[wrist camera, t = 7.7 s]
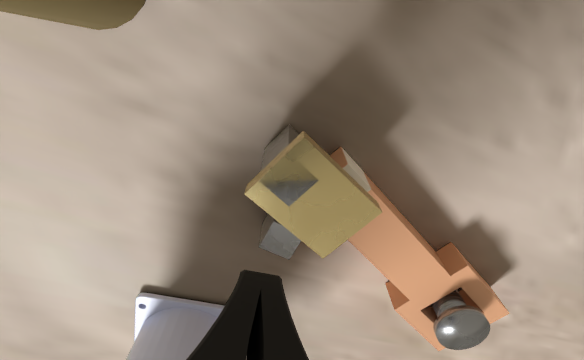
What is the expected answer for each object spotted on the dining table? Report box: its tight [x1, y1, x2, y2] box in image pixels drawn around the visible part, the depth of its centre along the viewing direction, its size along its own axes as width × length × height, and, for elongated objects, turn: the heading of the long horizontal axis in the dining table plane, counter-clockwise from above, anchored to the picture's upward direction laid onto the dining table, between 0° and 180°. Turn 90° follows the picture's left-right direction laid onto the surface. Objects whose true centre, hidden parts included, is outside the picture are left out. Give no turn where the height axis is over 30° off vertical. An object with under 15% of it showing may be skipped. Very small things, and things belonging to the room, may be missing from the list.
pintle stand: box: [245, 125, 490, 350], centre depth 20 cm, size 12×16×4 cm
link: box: [330, 147, 509, 351], centre depth 22 cm, size 16×5×2 cm, turn 43°
